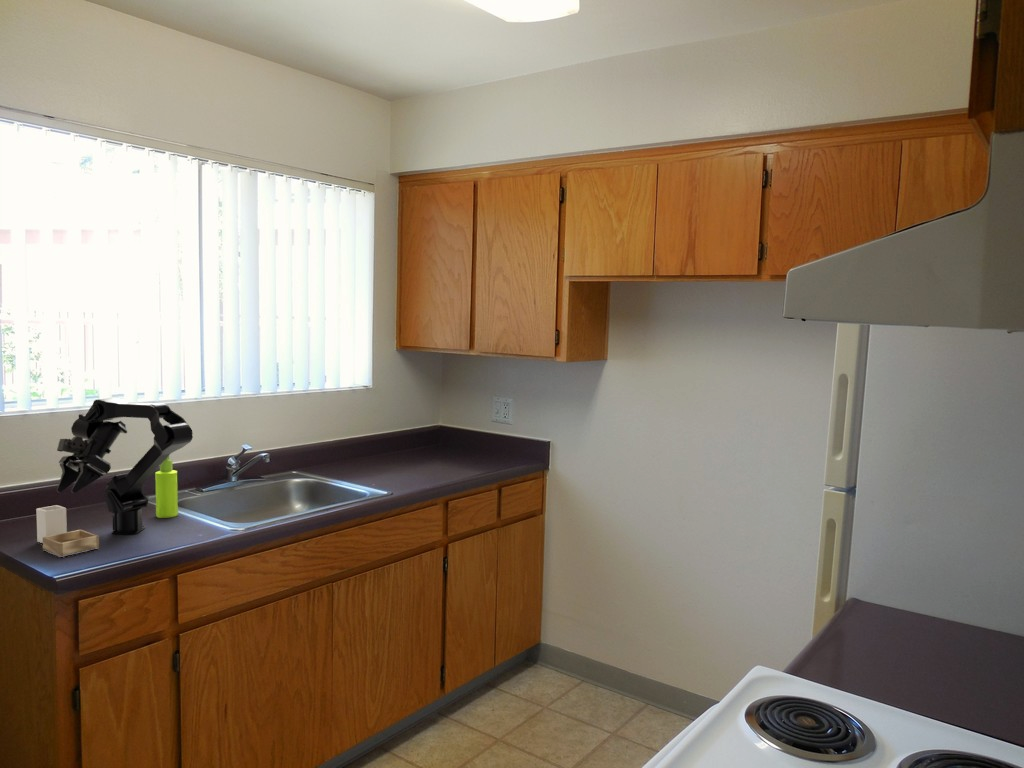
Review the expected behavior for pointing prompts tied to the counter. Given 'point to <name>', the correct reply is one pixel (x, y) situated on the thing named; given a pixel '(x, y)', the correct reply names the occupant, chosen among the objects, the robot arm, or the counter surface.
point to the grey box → (50, 521)
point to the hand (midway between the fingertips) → (65, 492)
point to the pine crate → (70, 542)
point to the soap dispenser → (166, 490)
